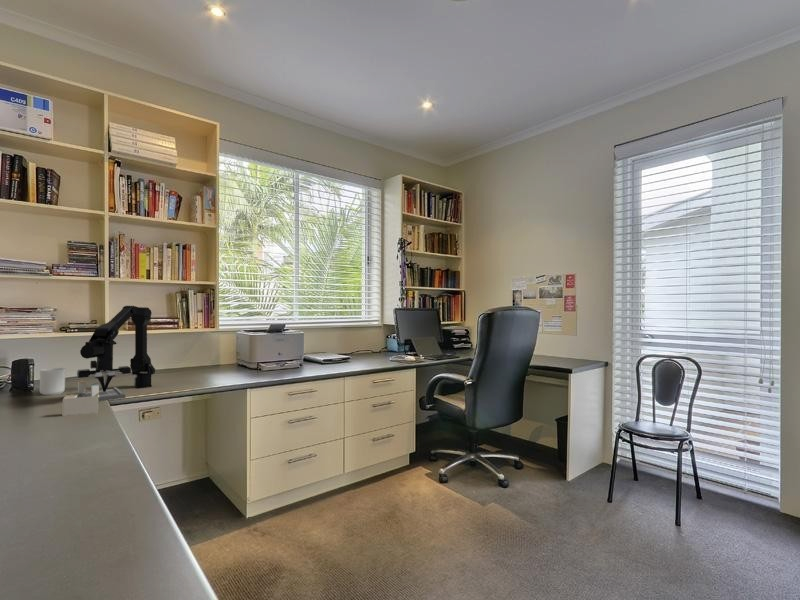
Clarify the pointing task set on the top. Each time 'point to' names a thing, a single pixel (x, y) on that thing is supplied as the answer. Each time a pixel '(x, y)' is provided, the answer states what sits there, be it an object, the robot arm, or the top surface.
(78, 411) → the model
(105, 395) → the console
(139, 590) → the top surface
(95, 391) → the fader teal
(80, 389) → the grey rectangular block
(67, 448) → the top surface
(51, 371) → the mug
